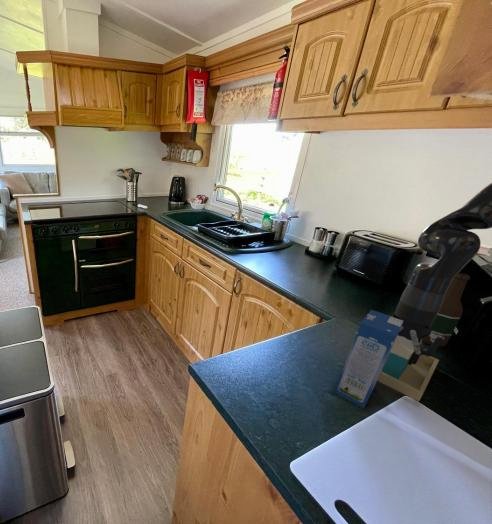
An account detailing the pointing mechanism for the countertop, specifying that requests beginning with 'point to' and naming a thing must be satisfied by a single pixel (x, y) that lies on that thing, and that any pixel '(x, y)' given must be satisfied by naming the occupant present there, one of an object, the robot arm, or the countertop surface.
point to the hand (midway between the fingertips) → (395, 356)
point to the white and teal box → (398, 357)
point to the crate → (412, 377)
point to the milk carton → (367, 356)
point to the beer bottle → (449, 310)
